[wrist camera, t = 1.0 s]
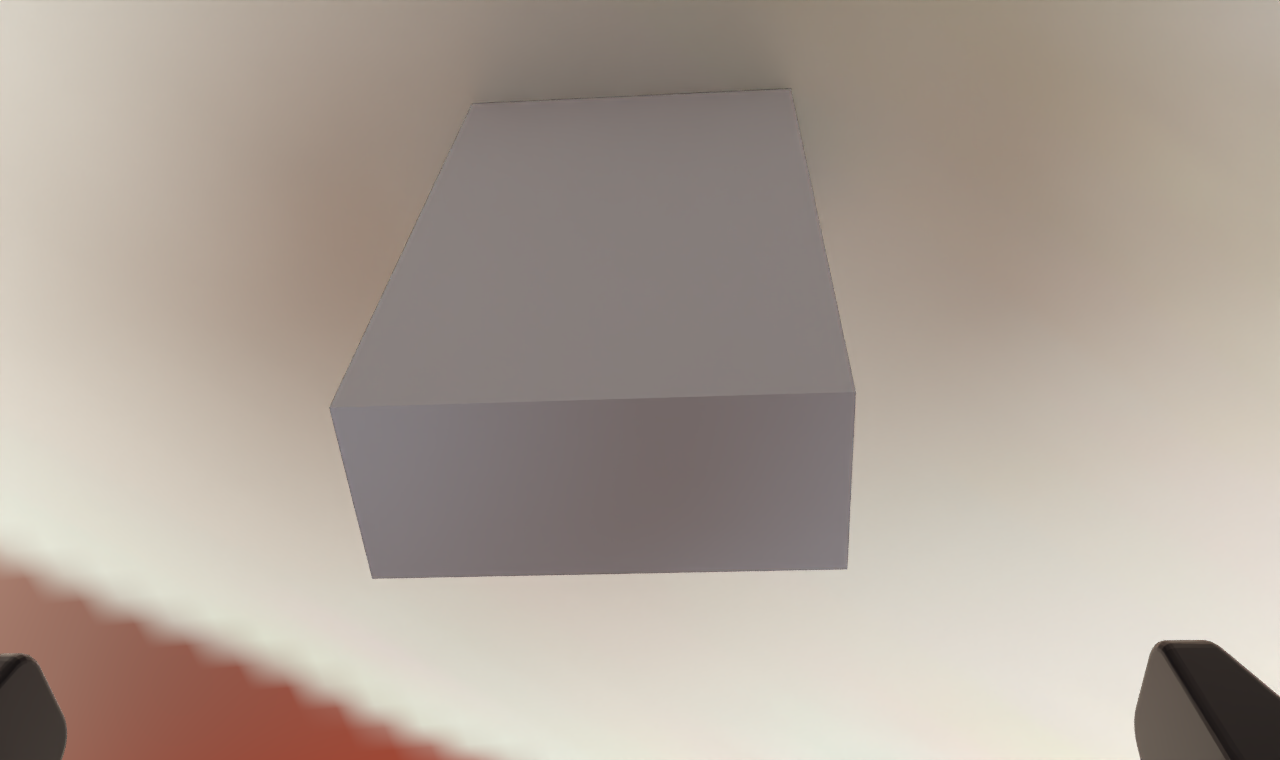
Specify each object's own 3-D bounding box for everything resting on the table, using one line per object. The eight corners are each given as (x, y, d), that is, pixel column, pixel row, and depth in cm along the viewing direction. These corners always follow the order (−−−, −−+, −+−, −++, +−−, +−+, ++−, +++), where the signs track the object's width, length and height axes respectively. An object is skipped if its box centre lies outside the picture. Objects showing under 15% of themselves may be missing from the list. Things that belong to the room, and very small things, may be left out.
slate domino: (790, 88, 18) (855, 391, 11) (789, 218, 19) (847, 569, 12) (471, 103, 18) (329, 408, 11) (490, 230, 19) (371, 578, 12)
